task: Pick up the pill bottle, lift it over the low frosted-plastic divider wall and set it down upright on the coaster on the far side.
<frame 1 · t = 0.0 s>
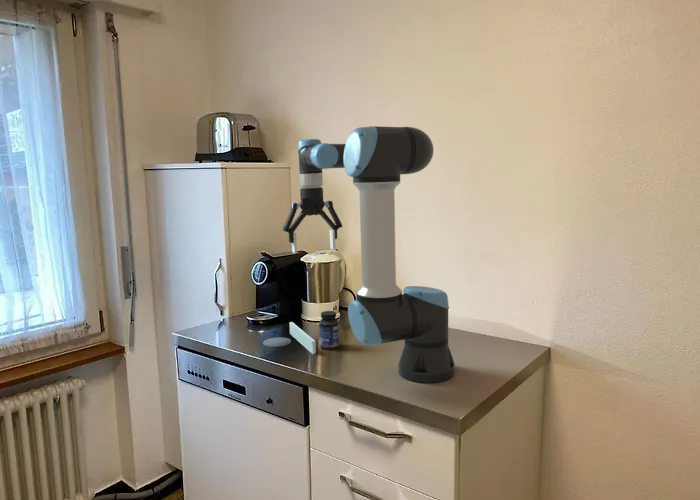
hand: (313, 250, 180), 28 cm above the worktop, fingers open, 13 cm apart
coaster: (277, 342, 173), on the worktop
divider wall: (302, 343, 172), on the worktop
pill bottle: (329, 347, 168), on the worktop
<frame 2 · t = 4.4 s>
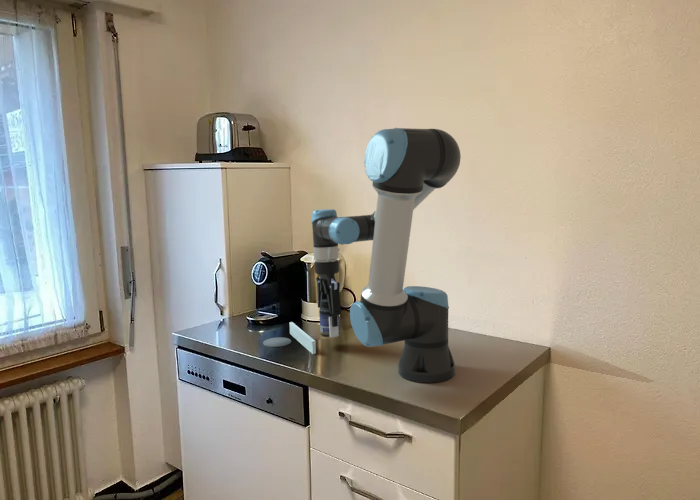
hand: (330, 333, 166), 4 cm above the worktop, fingers closed on pill bottle, 6 cm apart
pill bottle: (330, 335, 166), point 4 cm above the worktop, touching gripper
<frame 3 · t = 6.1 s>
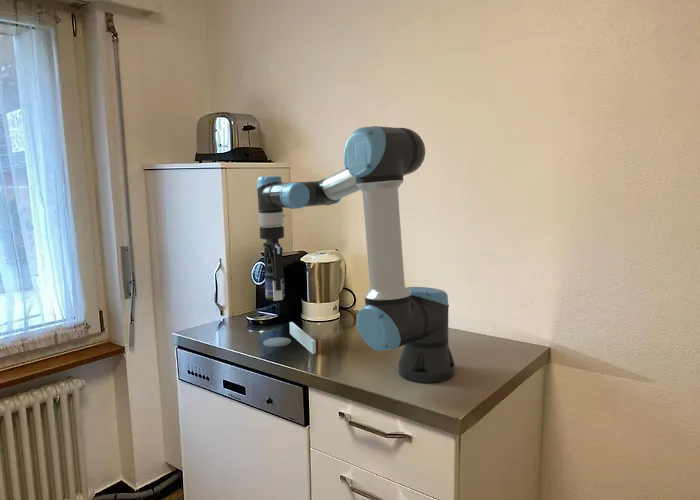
hand: (275, 297, 171), 15 cm above the worktop, fingers closed on pill bottle, 6 cm apart
pill bottle: (275, 299, 171), point 14 cm above the worktop, touching gripper
when the fingers open (2 cm above the worktop, at t = 8.3 s): pill bottle stays where it is, resting on coaster.
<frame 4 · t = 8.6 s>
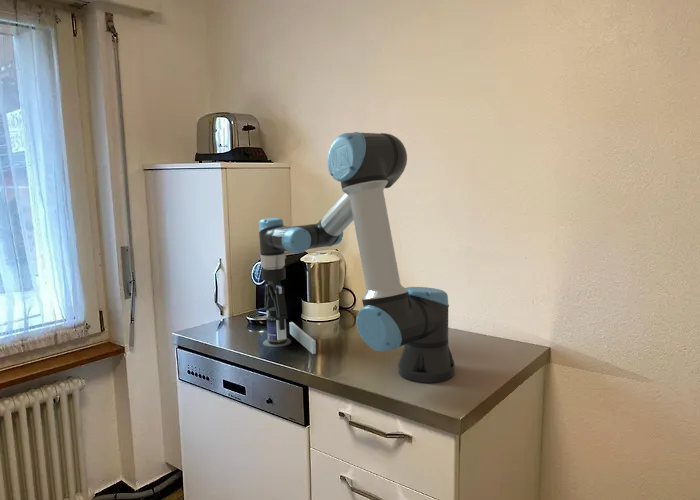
hand: (276, 334, 173), 3 cm above the worktop, fingers open, 11 cm apart
pill bottle: (277, 342, 173), resting on coaster
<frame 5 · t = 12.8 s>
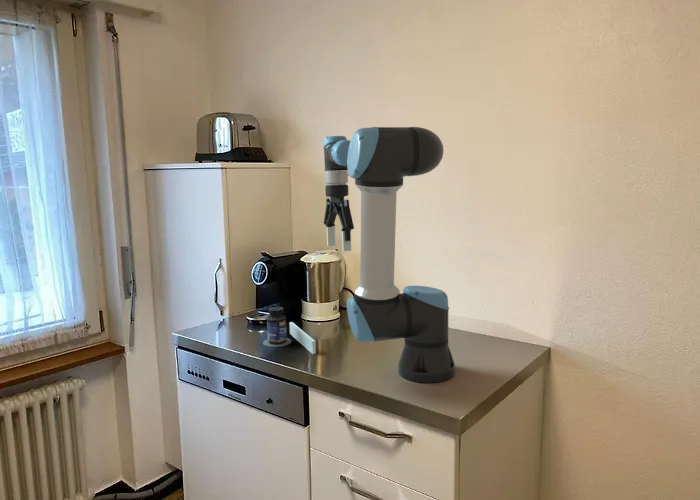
hand: (338, 248, 179), 29 cm above the worktop, fingers open, 13 cm apart
nothing on the worktop moved.
at the end: pill bottle 0.2 cm from the coaster (horizontally); pill bottle tilted 1°; the gripper is holding nothing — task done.
